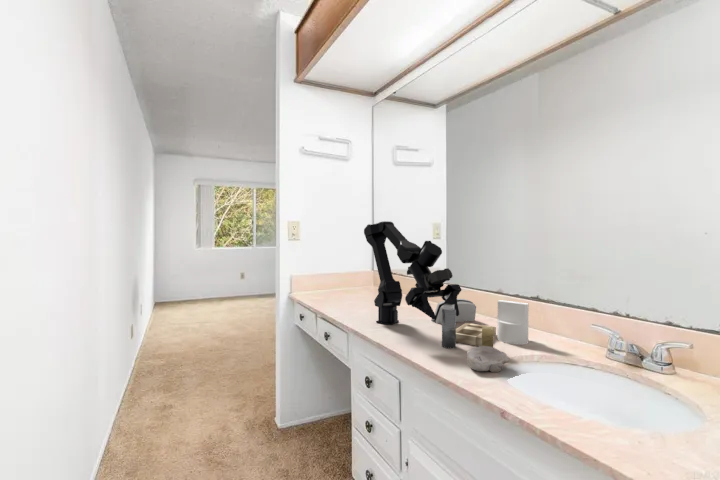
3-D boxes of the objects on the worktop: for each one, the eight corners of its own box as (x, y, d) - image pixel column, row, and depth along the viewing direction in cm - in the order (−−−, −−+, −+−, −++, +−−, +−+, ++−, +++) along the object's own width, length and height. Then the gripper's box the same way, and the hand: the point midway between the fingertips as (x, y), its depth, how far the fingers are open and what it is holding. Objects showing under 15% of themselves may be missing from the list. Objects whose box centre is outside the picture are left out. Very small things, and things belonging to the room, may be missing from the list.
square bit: (481, 353, 101) (481, 328, 101) (482, 350, 104) (482, 326, 104) (493, 354, 100) (493, 329, 100) (493, 351, 103) (493, 326, 103)
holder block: (449, 340, 113) (449, 332, 113) (466, 329, 127) (466, 322, 127) (481, 346, 108) (481, 338, 108) (495, 334, 121) (495, 326, 121)
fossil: (517, 359, 88) (487, 348, 85) (507, 384, 88) (477, 374, 84) (492, 346, 96) (464, 335, 93) (482, 369, 96) (454, 359, 92)
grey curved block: (467, 317, 145) (472, 295, 142) (474, 324, 141) (479, 301, 138) (430, 320, 140) (434, 297, 137) (435, 327, 136) (440, 304, 133)
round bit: (439, 346, 107) (440, 304, 107) (444, 343, 111) (445, 302, 110) (452, 349, 105) (453, 306, 105) (457, 345, 108) (457, 304, 108)
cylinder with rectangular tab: (532, 339, 115) (532, 302, 115) (522, 346, 108) (522, 306, 108) (503, 334, 121) (503, 298, 121) (492, 340, 114) (493, 302, 114)
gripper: (410, 260, 109) (435, 303, 99) (457, 259, 118) (483, 298, 108) (395, 284, 116) (417, 326, 106) (441, 280, 125) (464, 319, 115)
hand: (446, 316), depth 109 cm, fingers open, 9 cm apart
